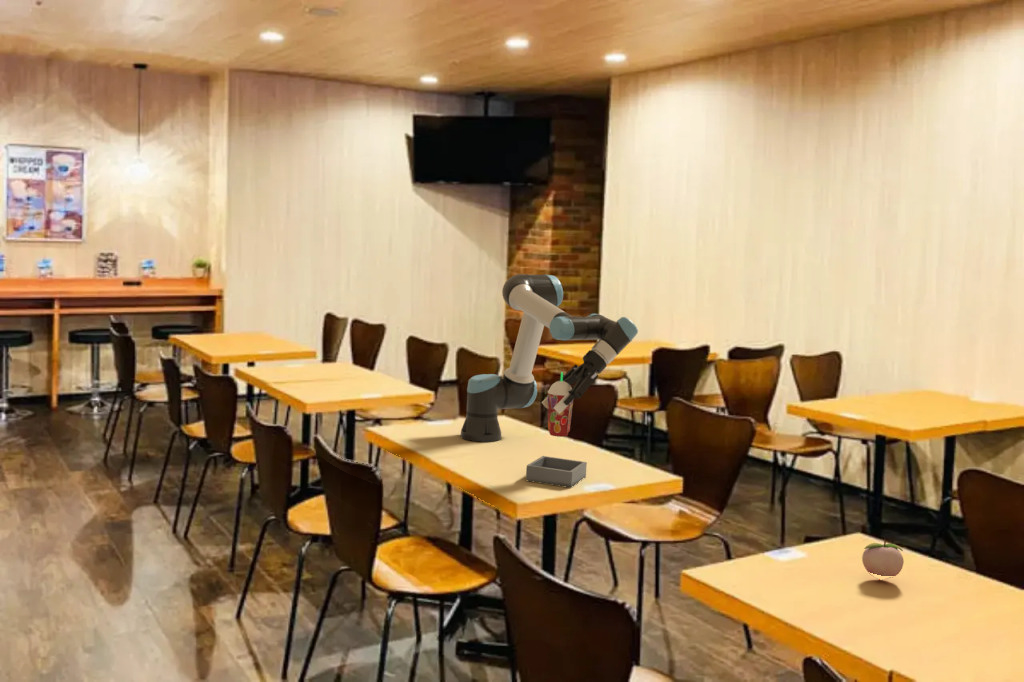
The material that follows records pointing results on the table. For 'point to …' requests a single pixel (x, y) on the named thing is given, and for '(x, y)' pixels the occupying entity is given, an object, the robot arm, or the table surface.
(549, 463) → the holder tray
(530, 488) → the table surface
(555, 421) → the smoothie
